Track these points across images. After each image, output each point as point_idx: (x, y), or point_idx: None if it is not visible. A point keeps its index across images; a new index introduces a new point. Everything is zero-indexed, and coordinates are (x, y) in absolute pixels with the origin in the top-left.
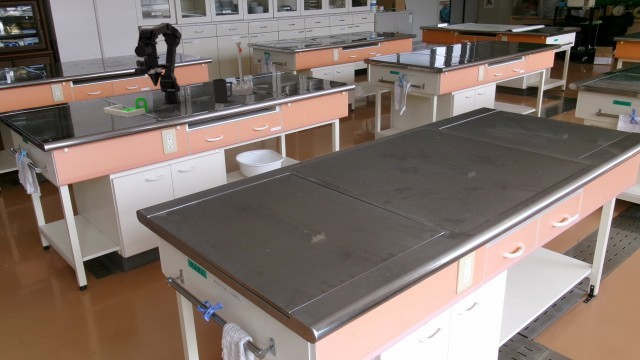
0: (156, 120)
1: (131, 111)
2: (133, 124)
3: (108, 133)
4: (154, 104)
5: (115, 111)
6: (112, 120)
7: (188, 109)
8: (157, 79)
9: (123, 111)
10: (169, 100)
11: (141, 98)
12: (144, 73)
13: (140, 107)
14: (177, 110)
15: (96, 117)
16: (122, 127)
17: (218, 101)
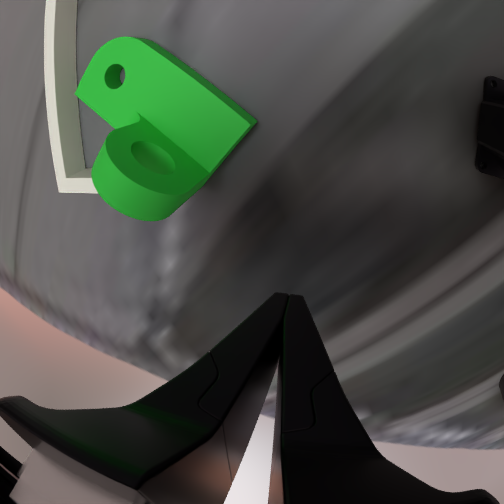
0: (141, 336)
1: (78, 191)
2: (64, 293)
3: (7, 290)
4: (427, 19)
5: (49, 75)
6: (26, 163)
7: (376, 349)
8: (274, 431)
9: (54, 148)
10: (492, 152)
11: (119, 205)
12: (4, 462)
13: (146, 167)
14: (336, 315)
15: (15, 43)
16: (34, 284)
17: (502, 389)
